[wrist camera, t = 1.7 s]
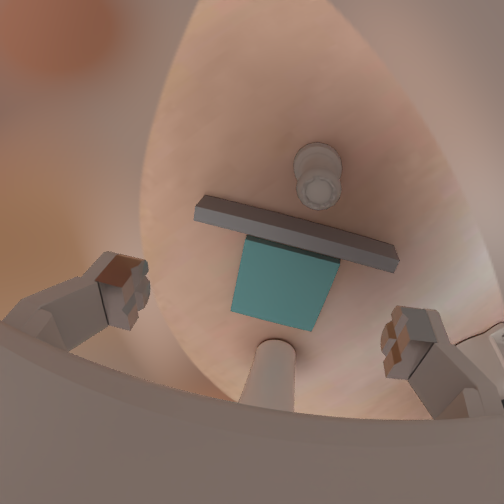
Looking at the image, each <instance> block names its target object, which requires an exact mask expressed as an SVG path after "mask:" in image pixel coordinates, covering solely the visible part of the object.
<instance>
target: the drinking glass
mask: <svg viewBox="0 0 504 504" xmlns="http://www.w3.org/2000/svg"><path fill="white" fill-rule="evenodd" d="M295 360H296V353H295V350H294V348H293V347H292V346H291V345H290V344H288V343H287V342H284V341H281V340H267V341H265V342H263V343H261V344H260V345H259V346H258V348H257V350H256V353H255V357H254V361H253V364H252V367H251V369H250V372H249V375H248V378H247V380H246V383H245V386H244V389H243V391H242V394H241V397H240V399H239V402H238V403H241V404H246V405H251V406H257V407H263V408H269V409H275V410H282V411H289V412H294V393H295Z"/></svg>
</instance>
